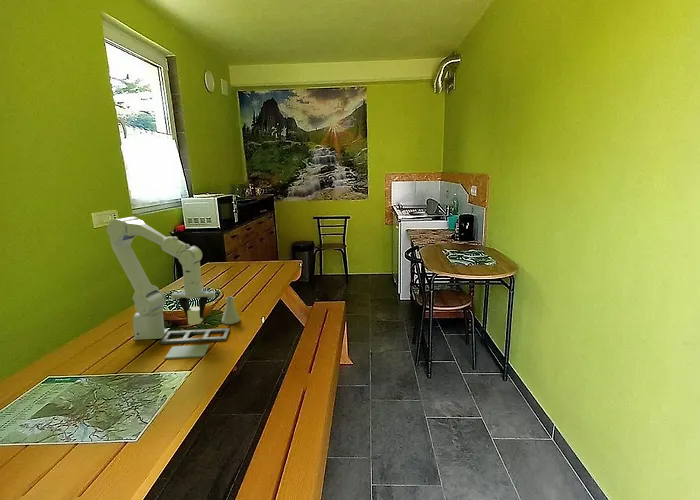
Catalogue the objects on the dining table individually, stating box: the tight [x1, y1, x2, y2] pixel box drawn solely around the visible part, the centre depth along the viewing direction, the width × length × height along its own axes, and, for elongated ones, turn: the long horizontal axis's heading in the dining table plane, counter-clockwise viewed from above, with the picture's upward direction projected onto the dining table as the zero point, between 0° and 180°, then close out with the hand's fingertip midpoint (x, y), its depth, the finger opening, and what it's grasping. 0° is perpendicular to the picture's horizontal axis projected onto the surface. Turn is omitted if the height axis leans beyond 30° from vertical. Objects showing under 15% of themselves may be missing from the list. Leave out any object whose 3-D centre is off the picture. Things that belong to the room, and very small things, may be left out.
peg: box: [187, 306, 203, 325], centre depth 135 cm, size 4×4×5 cm
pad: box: [164, 344, 210, 360], centre depth 125 cm, size 12×8×1 cm, turn 99°
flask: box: [220, 296, 242, 325], centre depth 151 cm, size 7×7×10 cm
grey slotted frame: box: [159, 327, 231, 345], centre depth 137 cm, size 22×9×1 cm, turn 99°
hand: (195, 317), depth 135 cm, fingers closed on peg, 4 cm apart
